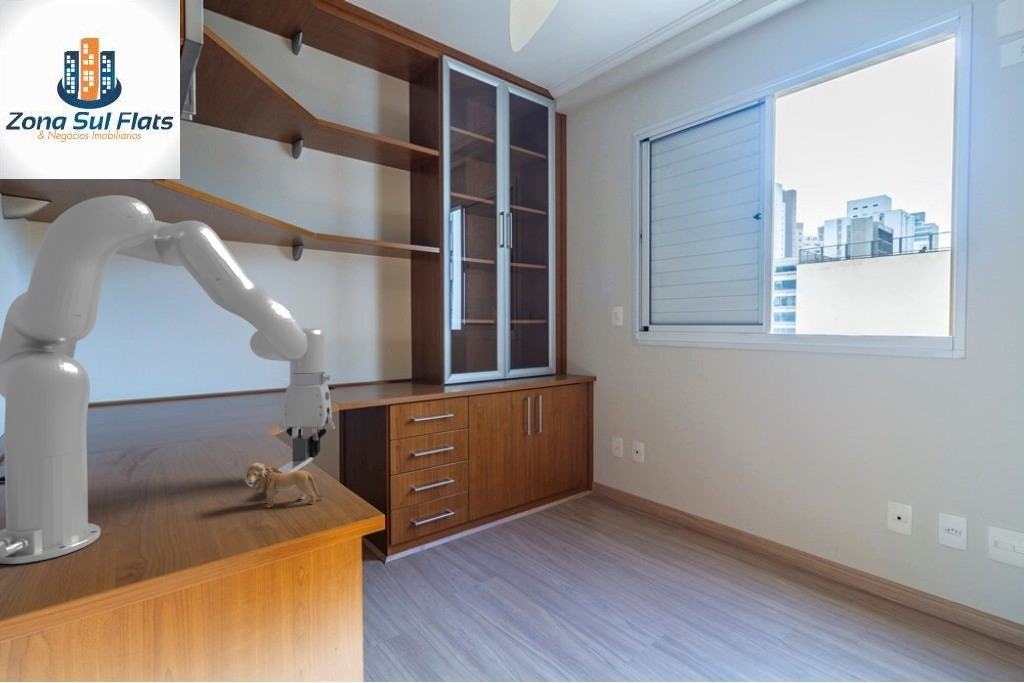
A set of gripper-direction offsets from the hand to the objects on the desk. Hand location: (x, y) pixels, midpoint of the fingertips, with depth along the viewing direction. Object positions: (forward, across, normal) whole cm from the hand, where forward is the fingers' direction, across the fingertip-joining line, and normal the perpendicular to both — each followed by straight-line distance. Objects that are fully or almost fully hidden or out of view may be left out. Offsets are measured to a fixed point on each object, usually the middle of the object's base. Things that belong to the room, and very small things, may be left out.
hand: (307, 455), depth 114 cm
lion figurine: (+5, -3, +18) cm, 19 cm away
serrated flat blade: (+1, 0, +7) cm, 7 cm away
